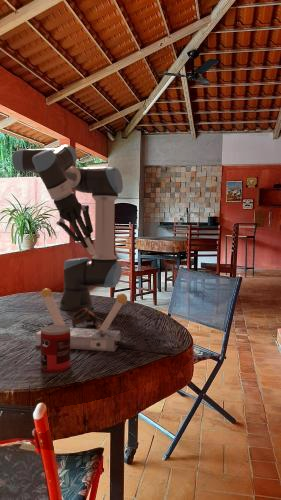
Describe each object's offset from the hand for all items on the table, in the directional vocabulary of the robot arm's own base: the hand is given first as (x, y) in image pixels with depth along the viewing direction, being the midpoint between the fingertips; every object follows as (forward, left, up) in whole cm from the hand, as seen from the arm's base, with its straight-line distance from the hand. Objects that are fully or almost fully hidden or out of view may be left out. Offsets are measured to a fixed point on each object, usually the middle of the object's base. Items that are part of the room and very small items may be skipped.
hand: (92, 253), depth 137 cm
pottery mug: (-6, -4, -29) cm, 30 cm away
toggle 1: (+15, -6, -24) cm, 29 cm away
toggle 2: (+15, +8, -24) cm, 29 cm away
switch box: (+15, +3, -29) cm, 33 cm away
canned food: (+35, 0, -29) cm, 45 cm away
